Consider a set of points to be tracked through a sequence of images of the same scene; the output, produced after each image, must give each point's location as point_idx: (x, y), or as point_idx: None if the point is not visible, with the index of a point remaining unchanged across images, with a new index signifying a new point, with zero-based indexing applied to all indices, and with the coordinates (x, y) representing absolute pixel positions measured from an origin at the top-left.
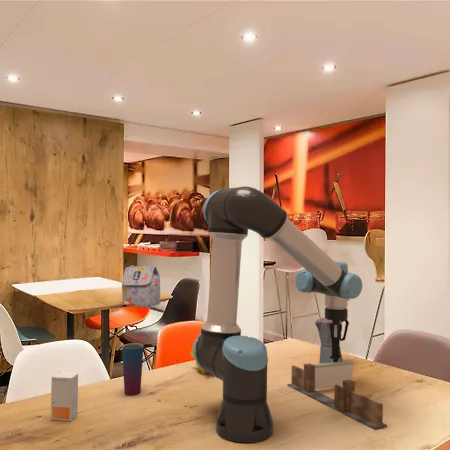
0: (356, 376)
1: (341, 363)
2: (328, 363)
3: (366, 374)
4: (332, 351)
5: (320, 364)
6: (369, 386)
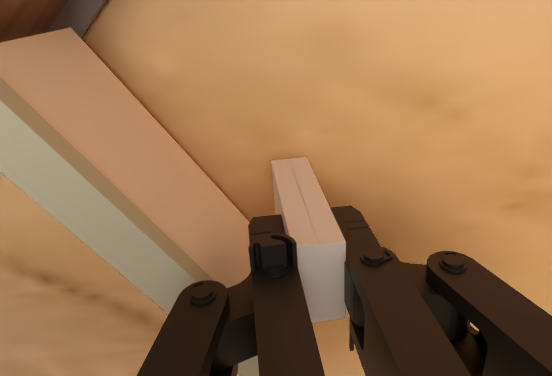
0: (493, 257)
1: None
2: (113, 231)
3: (537, 299)
4: (145, 372)
5: (7, 151)
6: (332, 330)
